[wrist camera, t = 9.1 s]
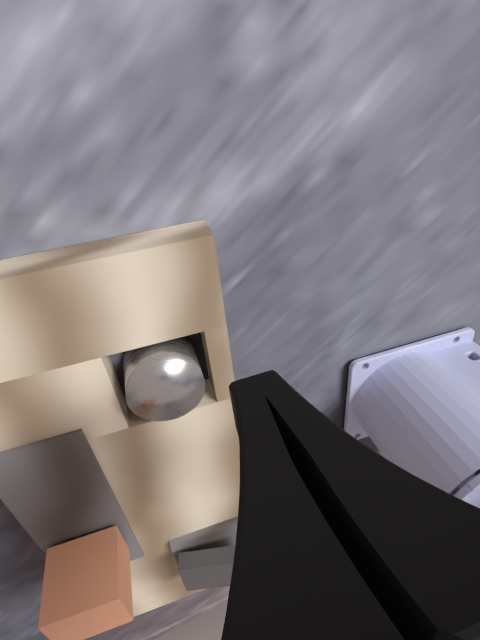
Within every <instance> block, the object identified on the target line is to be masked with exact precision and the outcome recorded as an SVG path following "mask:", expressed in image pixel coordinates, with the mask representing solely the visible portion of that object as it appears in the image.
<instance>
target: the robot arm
mask: <svg viewBox="0 0 480 640" xmlns="http://www.w3.org/2000/svg"><path fill="white" fill-rule="evenodd" d="M474 333H475V331H474V330H473V329H471V328H470V327H466V328H463V329H459V330H456V331H453V332H449V333H446V334H442V335H439V336H435V337H432V338H428V339H425V340H421V341H418V342H415V343H411V344H408V345H404V346H401V347H397V348H394V349H390V350H387V351H384V352H380V353H377V354H373V355H370V356H366V357H363V358H359V359H356V360H354V361H352V362H351V364H350V366H349V374H348V386H347V397H346V409H345V421H344V430H343V429H342V428H340V427H339V426H338V425H336V424H335V423H334V422H332V421H331V420H330V419H329V418H327V417H326V416H325V415H324V414H322V413H321V412H320V411H319V410H318V409H316V408H315V407H314V406H313V405H311V404H310V403H309V402H308V401H307V400H306V399H304V398H303V397H302V396H301V395H300V394H299V393H298V392H297V391H295V390H294V389H293V388H292V387H291V386H290V385H289V384H288V383H287V382H286V381H285V380H284V379H283V378H282V377H281V376H280V375H279V374H278V373H277V372H275V371H273V370H271V371H267V372H264V373H261V374H257V375H254V376H250V377H247V378H244V379H240V380H237V381H234V382H231V384H230V385H229V392H230V397H231V403H232V409H233V414H234V420H235V425H236V430H237V433H238V436H239V448H240V489H239V509H238V522H237V533H236V544H235V553H234V562H233V569H232V576H231V583H230V590H229V597H228V604H227V611H226V617H225V623H224V628H223V634H222V639H221V640H480V346H479V345H477V344H476V343H475V342H473V341H472V340H473V337H474ZM368 436H369V437H370V439H371V440H372V441H373V443H374V444H375V445H376V447H377V448H378V450H379V451H380V452H381V454H382V455H383V456H384V457H383V456H381V455H379V454H378V453H376V452H375V451H373V450H372V449H370V448H369V447H367V446H366V445H364V444H363V443H361V442H360V441H358V440H359V439H362V438H365V437H368Z"/></svg>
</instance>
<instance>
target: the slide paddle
mask: <svg viewBox="0 0 480 640" xmlns="http://www.w3.org/2000/svg"><path fill="white" fill-rule="evenodd" d="M131 621H133V604H132V587H131V570H130V553H129V548H128V546H127V544H126V542H125V541H124V539H123V537H122V535H121V533H120V531H119V529H118V527H117V526H113V527H110V528H107V529H104V530H101V531H98V532H96V533H93V534H90V535H87V536H84V537H81V538H78V539H75V540H72V541H69V542H66V543H63V544H60V545H57V546H54V547H51V548H48V549H47V553H46V562H45V571H44V579H43V588H42V597H41V606H40V615H39V624H38V629H39V630H40V631H41V632H42V633H43V634H44V635H45V636H46V637H47V638H48V639H50V640H84V639H87V638H89V637H92V636H94V635H97V634H100V633H102V632H105V631H107V630H110V629H113V628H115V627H118V626H120V625H123V624H126V623H128V622H131Z"/></svg>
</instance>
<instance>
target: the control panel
mask: <svg viewBox="0 0 480 640" xmlns="http://www.w3.org/2000/svg"><path fill="white" fill-rule="evenodd" d="M196 333H200V334H201V339H202V344H203V349H204V354H205V360H206V365H207V370H208V375H209V379H206V380H205V385H206V386H205V393H204V396H203V398H202V400H201V401H200V403H199V404H198V405H197V406H196V407H195V408H194V409H193V410H192V411H190V412H189V413H187V414H185V415H184V416H181V417H179V418H176V419H173V420H168V421H150V420H146V419H143V418H141V417H139V416H137V415H136V414H134V413H133V412H132V411H131V410H130V408H129V407H128V405H127V402H126V399H125V396H124V393H123V391H122V388H121V385H120V383H119V380H118V377H117V375H116V372H115V369H114V367H113V364H112V361H111V359H110V356H109V355H113V354H117V353H121V352H125V351H129V350H133V349H137V348H141V347H144V346H148V345H152V344H156V343H160V342H164V341H168V340H172V339H176V338H180V337H184V336H188V335H192V334H196ZM231 382H234V374H233V367H232V360H231V353H230V346H229V339H228V332H227V325H226V318H225V311H224V304H223V297H222V290H221V283H220V276H219V269H218V262H217V255H216V248H215V241H214V235H213V233H212V232H211V230H210V229H209V227H208V226H207V225H206V223H205V222H204V220H200V221H195V222H190V223H185V224H180V225H175V226H169V227H164V228H159V229H154V230H149V231H144V232H139V233H134V234H129V235H124V236H119V237H114V238H109V239H104V240H99V241H94V242H89V243H84V244H79V245H74V246H69V247H64V248H59V249H54V250H48V251H43V252H38V253H33V254H28V255H23V256H18V257H13V258H8V259H3V260H0V499H1V500H2V502H3V503H4V504H5V505H6V507H7V508H8V509H9V510H10V512H11V513H12V514H13V515H14V517H15V518H16V519H17V520H18V522H19V523H20V524H21V525H22V527H23V528H24V529H25V530H26V532H27V533H28V534H29V535H30V537H31V538H32V539H33V540H34V542H35V543H36V544H37V545H38V547H39V548H40V549H41V550H42V552H43V553H44V554H45V555H46V553H47V549H48V548H51V547H54V546H57V545H60V544H63V543H66V542H69V541H72V540H75V539H78V538H81V537H84V536H87V535H90V534H93V533H96V532H98V531H101V530H104V529H107V528H110V527H113V526H117V527H118V529H119V531H120V533H121V535H122V537H123V539H124V541H125V542H126V544H127V546H128V548H129V553H130V570H131V587H132V604H133V617H134V616H137V615H140V614H142V613H145V612H148V611H150V610H153V609H155V608H158V607H161V606H163V605H166V604H168V603H171V602H174V601H176V600H179V599H182V598H184V597H187V596H189V595H192V594H195V593H197V592H200V591H202V590H205V589H200V590H193V591H186V589H185V586H184V584H183V582H182V579H181V577H180V574H179V572H178V560H179V553H183V552H190V551H197V550H204V549H212V548H219V547H226V546H233V545H235V544H236V533H237V522H238V509H239V489H240V448H239V436H238V433H237V430H236V425H235V420H234V414H233V409H232V403H231V397H230V392H229V385H230V384H231ZM207 589H208V588H207Z"/></svg>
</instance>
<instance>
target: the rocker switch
mask: <svg viewBox="0 0 480 640" xmlns="http://www.w3.org/2000/svg"><path fill="white" fill-rule="evenodd" d="M234 553H235V545H233V546H226V547H219V548H212V549H204V550H197V551H190V552H183V553H179V560H178V572H179V574H180V577H181V579H182V582H183V584H184V586H185V589H186V591H193V590H200V589H207V588H214V587H221V586H228V585H230V583H231V576H232V569H233V562H234Z"/></svg>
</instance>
